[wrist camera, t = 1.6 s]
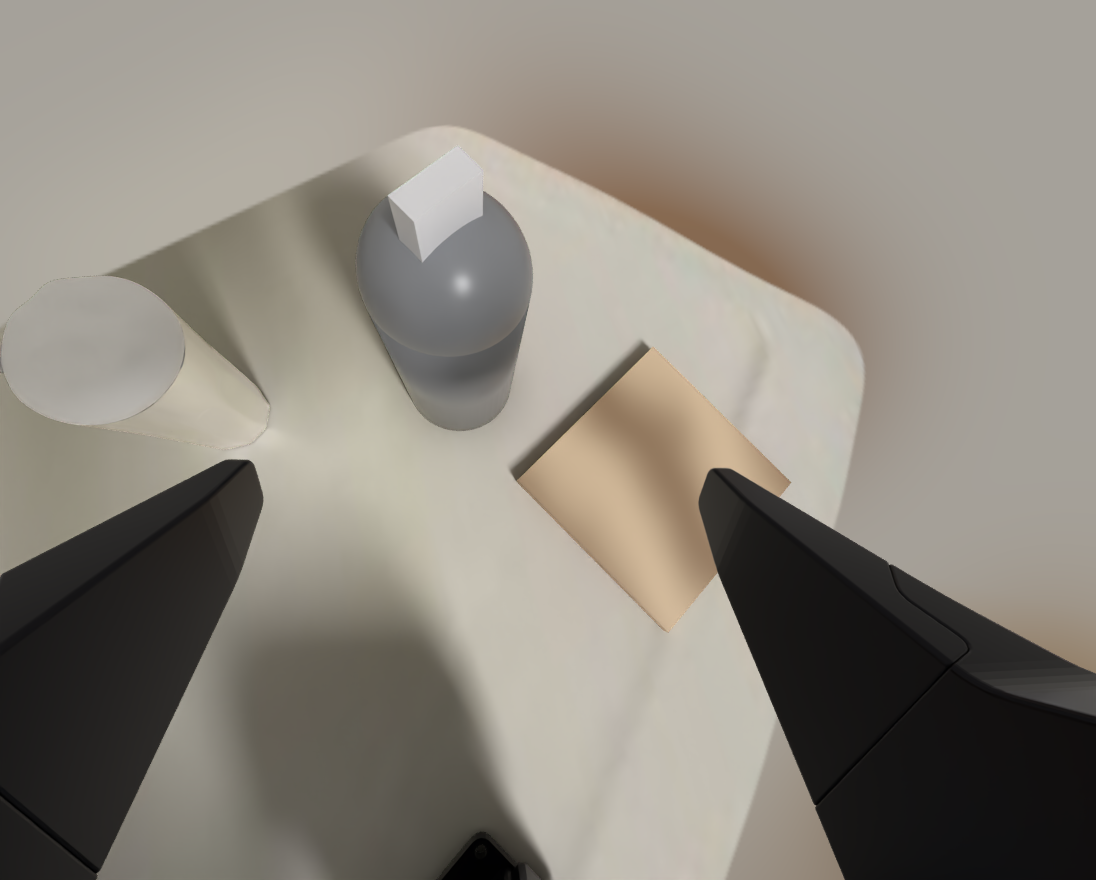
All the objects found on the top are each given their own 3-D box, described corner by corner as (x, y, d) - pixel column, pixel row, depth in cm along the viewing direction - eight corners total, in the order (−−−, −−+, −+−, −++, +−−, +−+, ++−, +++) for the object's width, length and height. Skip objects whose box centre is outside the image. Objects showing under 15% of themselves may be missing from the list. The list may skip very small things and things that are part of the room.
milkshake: (150, 384, 21) (-120, 261, 12) (275, 358, 22) (122, 225, 13) (166, 480, 21) (-106, 434, 11) (294, 449, 22) (147, 382, 12)
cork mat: (663, 630, 23) (668, 632, 22) (516, 481, 23) (517, 480, 22) (783, 483, 25) (791, 482, 24) (649, 350, 25) (653, 346, 25)
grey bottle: (458, 451, 23) (429, 337, 9) (386, 379, 23) (258, 165, 10) (530, 384, 24) (597, 197, 11) (462, 315, 24) (442, 47, 11)
